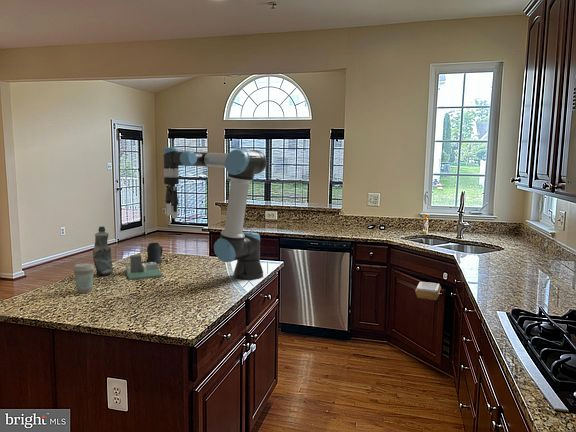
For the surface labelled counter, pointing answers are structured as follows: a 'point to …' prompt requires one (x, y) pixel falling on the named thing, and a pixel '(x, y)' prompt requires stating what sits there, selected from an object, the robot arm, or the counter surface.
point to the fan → (151, 265)
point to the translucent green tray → (142, 273)
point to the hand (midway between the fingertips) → (171, 216)
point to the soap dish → (428, 290)
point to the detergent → (102, 253)
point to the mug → (154, 253)
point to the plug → (135, 263)
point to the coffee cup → (84, 277)
